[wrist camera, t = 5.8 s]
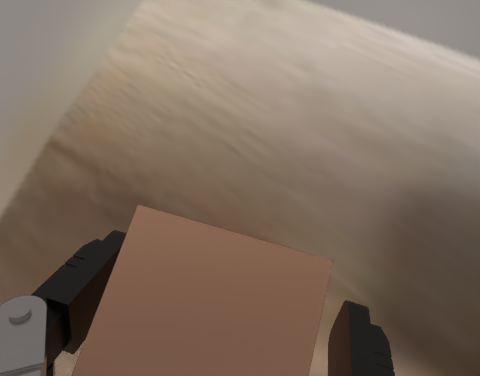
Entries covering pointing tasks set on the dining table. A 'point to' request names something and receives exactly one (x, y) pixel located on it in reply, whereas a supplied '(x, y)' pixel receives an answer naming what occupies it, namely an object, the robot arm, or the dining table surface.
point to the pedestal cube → (204, 304)
